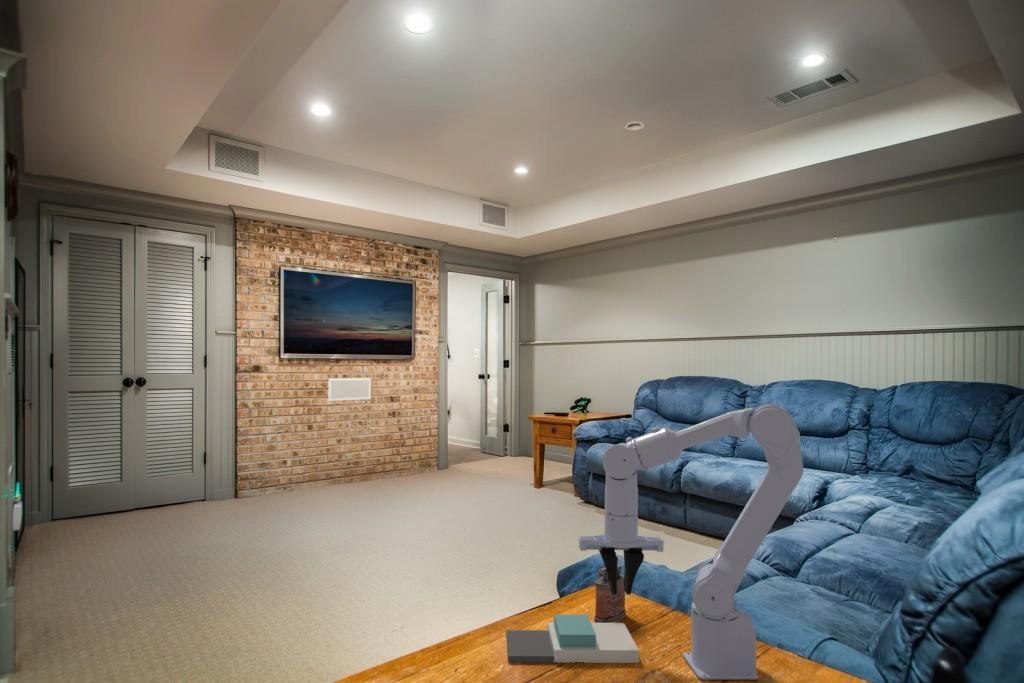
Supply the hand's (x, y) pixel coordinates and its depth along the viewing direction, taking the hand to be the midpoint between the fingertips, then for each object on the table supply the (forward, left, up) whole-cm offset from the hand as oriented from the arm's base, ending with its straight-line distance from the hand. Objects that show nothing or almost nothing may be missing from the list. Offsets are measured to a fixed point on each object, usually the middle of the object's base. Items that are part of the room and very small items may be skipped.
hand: (620, 592), depth 98 cm
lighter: (-1, -13, -10) cm, 16 cm away
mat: (+16, 0, -9) cm, 18 cm away
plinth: (+5, 0, -9) cm, 11 cm away
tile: (+8, 0, -7) cm, 11 cm away
